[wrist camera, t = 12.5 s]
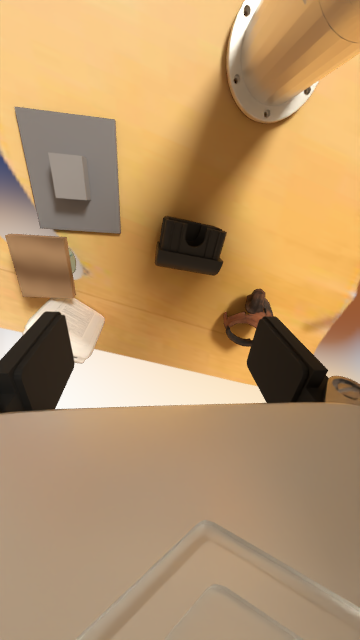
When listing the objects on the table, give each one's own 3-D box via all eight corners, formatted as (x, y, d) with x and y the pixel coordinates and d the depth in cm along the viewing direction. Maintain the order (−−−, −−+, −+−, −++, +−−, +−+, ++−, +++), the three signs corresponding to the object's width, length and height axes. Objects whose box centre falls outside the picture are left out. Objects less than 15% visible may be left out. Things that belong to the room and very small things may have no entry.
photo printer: (47, 303, 41) (10, 343, 31) (58, 286, 40) (23, 321, 29) (97, 331, 45) (80, 375, 35) (109, 316, 44) (94, 357, 33)
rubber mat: (17, 108, 28) (2, 99, 25) (115, 120, 30) (111, 113, 27) (42, 227, 35) (32, 230, 32) (120, 232, 36) (118, 236, 34)
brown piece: (269, 324, 49) (265, 354, 44) (226, 316, 52) (218, 343, 47) (283, 279, 41) (280, 309, 35) (231, 273, 44) (221, 299, 38)
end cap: (154, 258, 39) (154, 270, 33) (161, 214, 36) (162, 219, 30) (208, 268, 41) (217, 281, 35) (220, 227, 38) (232, 234, 32)
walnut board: (10, 233, 31) (5, 235, 30) (66, 237, 32) (63, 238, 31) (27, 293, 36) (22, 296, 35) (75, 294, 37) (73, 298, 35)
